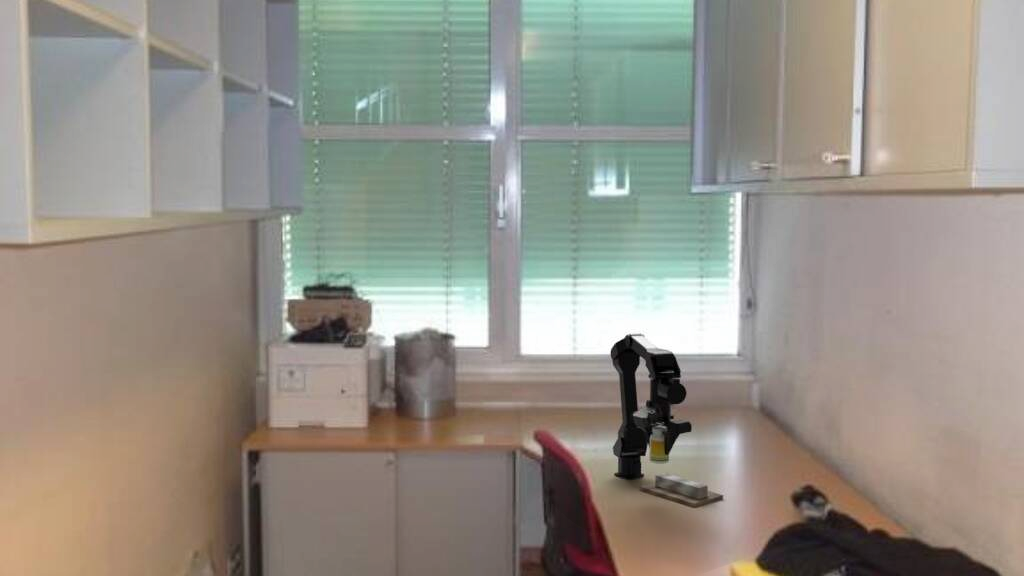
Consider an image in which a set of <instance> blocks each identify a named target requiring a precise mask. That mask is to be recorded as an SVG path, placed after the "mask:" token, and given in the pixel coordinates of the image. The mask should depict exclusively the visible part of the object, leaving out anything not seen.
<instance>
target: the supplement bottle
mask: <svg viewBox="0 0 1024 576" xmlns="http://www.w3.org/2000/svg"><path fill="white" fill-rule="evenodd" d="M662 431H666V427H665V426H661V425H659V426H654V427H653V428H652V432H653V434H651V435H650V448H649V452H648V453H649V457H648V459H649V462H651V463H653V464H659V465H661V464H667V463H669V461H670V453H669V454H668V455H665V443H664V435H663V434H662V433H661V432H662Z"/></svg>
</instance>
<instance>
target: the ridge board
mask: <svg viewBox="0 0 1024 576" xmlns="http://www.w3.org/2000/svg"><path fill="white" fill-rule="evenodd" d="M654 480H655V482H651V483H648V484H644V485H640V486H639V490H640V491H642V492H644V493H648V494H652V495H654V496H657V497H660V498H663V499H668V500H671V501H673V502H677V503H680V504H683V505H686V506H688V507H693V508H696V507H699V506H700V507H701V506H703V505H706V504H710V503H713V502H717V501H720V500H723V499H724V495H723V494H721V493H717V492H714V491H710V490H708V489H709V486H708V485H707V484H703V483H700V482H697V481H694V480H693V481H692V480H689V479H686V478H683V477H679V476H676V475H672V474H669V473H666V472H663V473H659V474H655V479H654Z"/></svg>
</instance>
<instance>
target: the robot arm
mask: <svg viewBox="0 0 1024 576" xmlns="http://www.w3.org/2000/svg"><path fill="white" fill-rule="evenodd" d="M609 353H610V358H611V361H612V365H613V368H614V369H615V371H617V373H618V376H619V391H620V392H619V393H620V403H621V404H620V405H621V416H622V418H621V420H622V423H621V425H620V427H619V429H618V431H617V439H616V441H615V443H614V445H613V446H612V452H613V455H614V456H615V457H616V458H618V459H617V461H618V462H617V463H618V465H617V472H614V476H617V477H620V478H623V479H627V480H633V479H636V478H640V477H644V476H645V474H644V473H642V462H641V459H642V458H641V457H646V455H647V450H648V447H649V449H650V435H651V434H653V432H652V428H653V427H654V426H665V427H666V431H662V432H661V433H662V434H663V435H664V443H665V455H668V454H669V455H670V453H671V451H672V449H673V448H674V445H675V443H676V441H677V440H678V438H679V436H680V435H682V434H686V433H692V427H693V426H692V423H691V422H690V421H688V420H685V419H679V418H678V419H674V418H675V415H673V414H671V412H672V406H673V405H679V404H681V403H683V402H684V401H685V399H687V390H686V389H687V388H686V387H685V385H684V384H682V383H681V380H680V379H681V377H682V375H681V373H682V370H681V368H680V366H679V363H678V361H677V357H676V356H675V354H674V353H673V351H671V350H669V349H663V348H658V347H657V346H656V345H655V344H653V342H651V341H650V340H649V339H648V338H646V337H645V334H643V333H629V334H626V335H625V336H624V337H623V338H622V339H620V340H617V341H616V342H615V343H614V345H612V347H611V348H610V352H609ZM641 358H642V359H643V360H644V361H645V367H646V368H647V371H648V373H649V374H648V378H649V379H650V381H649V382H650V383H649V390H650V391H649V399H647V400H646V402H645V406H644V407H642V408H640V409H639V407H638V406H639V405H638V393H637V382H636V381H637V379H636V372H637V370H638V368H639V366H640V364H641Z"/></svg>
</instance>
